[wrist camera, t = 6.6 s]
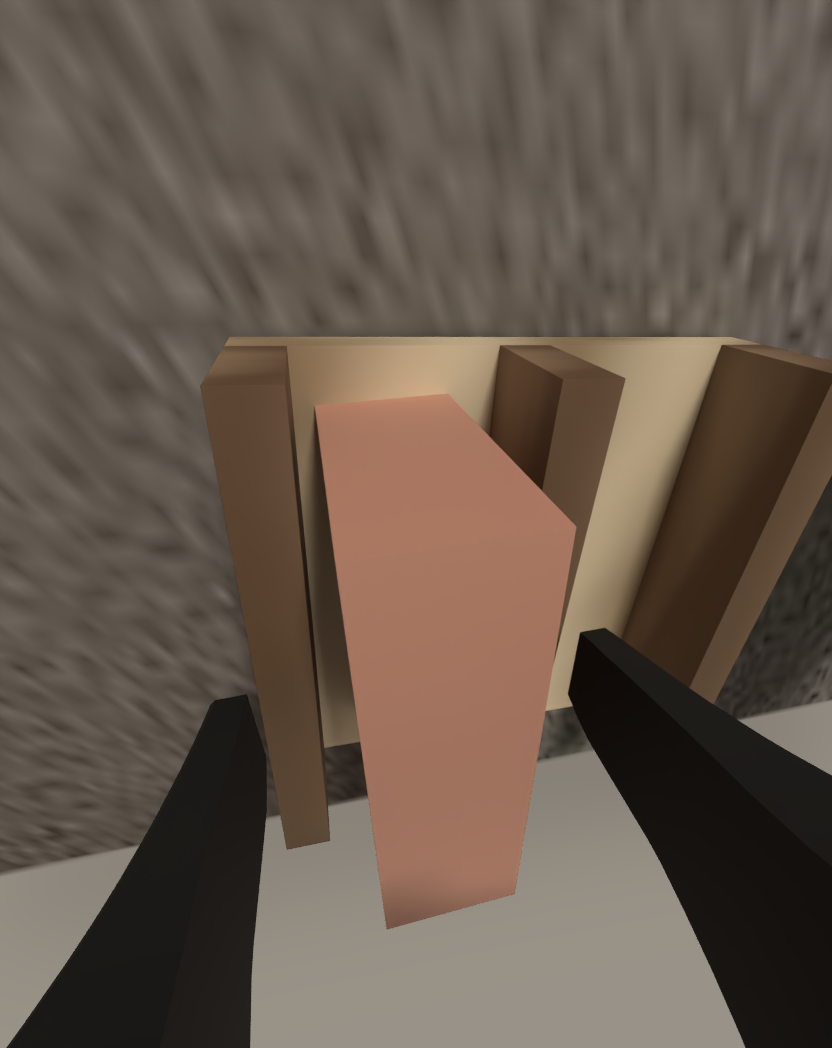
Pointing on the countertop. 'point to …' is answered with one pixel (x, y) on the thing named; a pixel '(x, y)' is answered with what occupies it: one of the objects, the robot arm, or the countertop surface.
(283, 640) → the book rack
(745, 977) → the robot arm
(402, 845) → the book
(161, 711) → the countertop surface
